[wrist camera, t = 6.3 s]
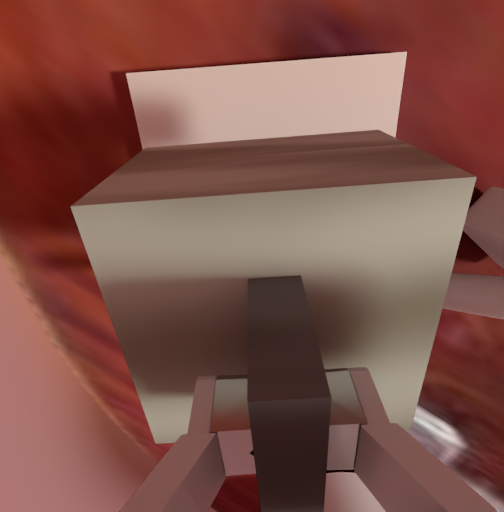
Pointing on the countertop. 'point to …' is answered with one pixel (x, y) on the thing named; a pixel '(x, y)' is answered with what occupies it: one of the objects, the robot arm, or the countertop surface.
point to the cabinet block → (277, 282)
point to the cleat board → (268, 99)
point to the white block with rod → (491, 242)
